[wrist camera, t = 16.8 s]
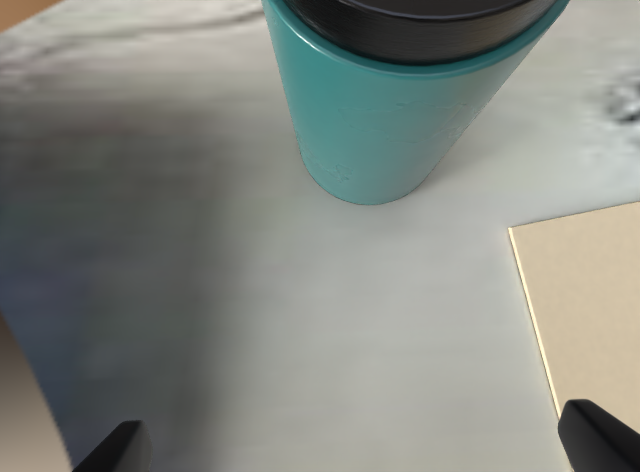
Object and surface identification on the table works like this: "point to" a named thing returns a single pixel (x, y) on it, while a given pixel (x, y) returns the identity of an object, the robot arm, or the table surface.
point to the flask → (394, 81)
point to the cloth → (587, 305)
